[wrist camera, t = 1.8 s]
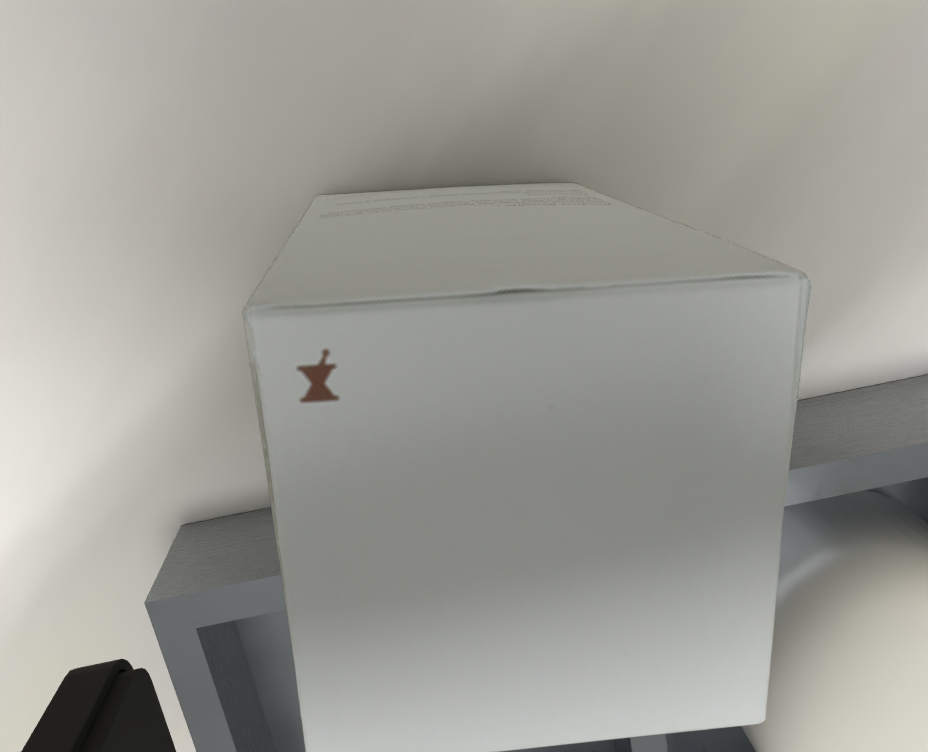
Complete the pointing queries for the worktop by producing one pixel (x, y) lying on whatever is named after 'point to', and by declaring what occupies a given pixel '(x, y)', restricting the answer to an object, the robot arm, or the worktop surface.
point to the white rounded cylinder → (849, 630)
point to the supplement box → (523, 466)
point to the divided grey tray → (282, 748)
